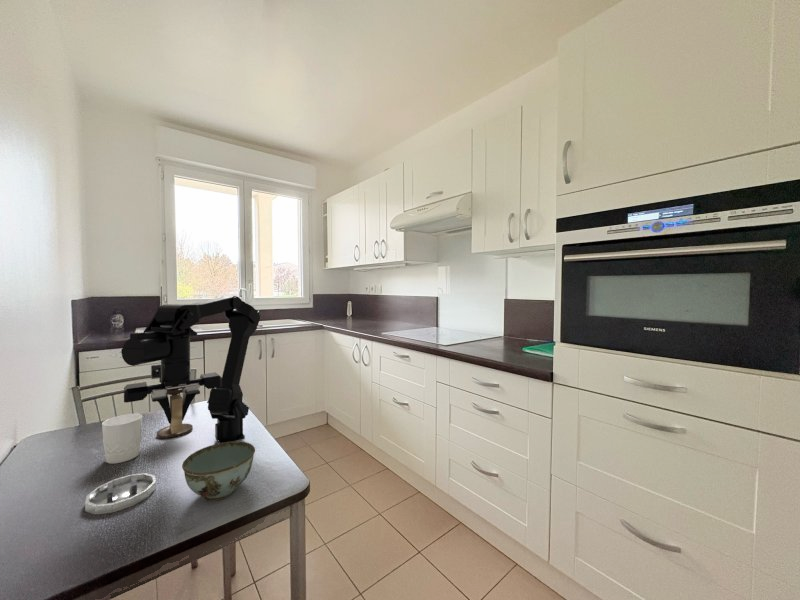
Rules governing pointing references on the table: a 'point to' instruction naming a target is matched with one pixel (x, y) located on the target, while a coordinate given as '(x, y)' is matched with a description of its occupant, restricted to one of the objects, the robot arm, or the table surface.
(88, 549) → the table surface
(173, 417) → the wooden plank
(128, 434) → the white cup
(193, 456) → the bowl
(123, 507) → the tin
